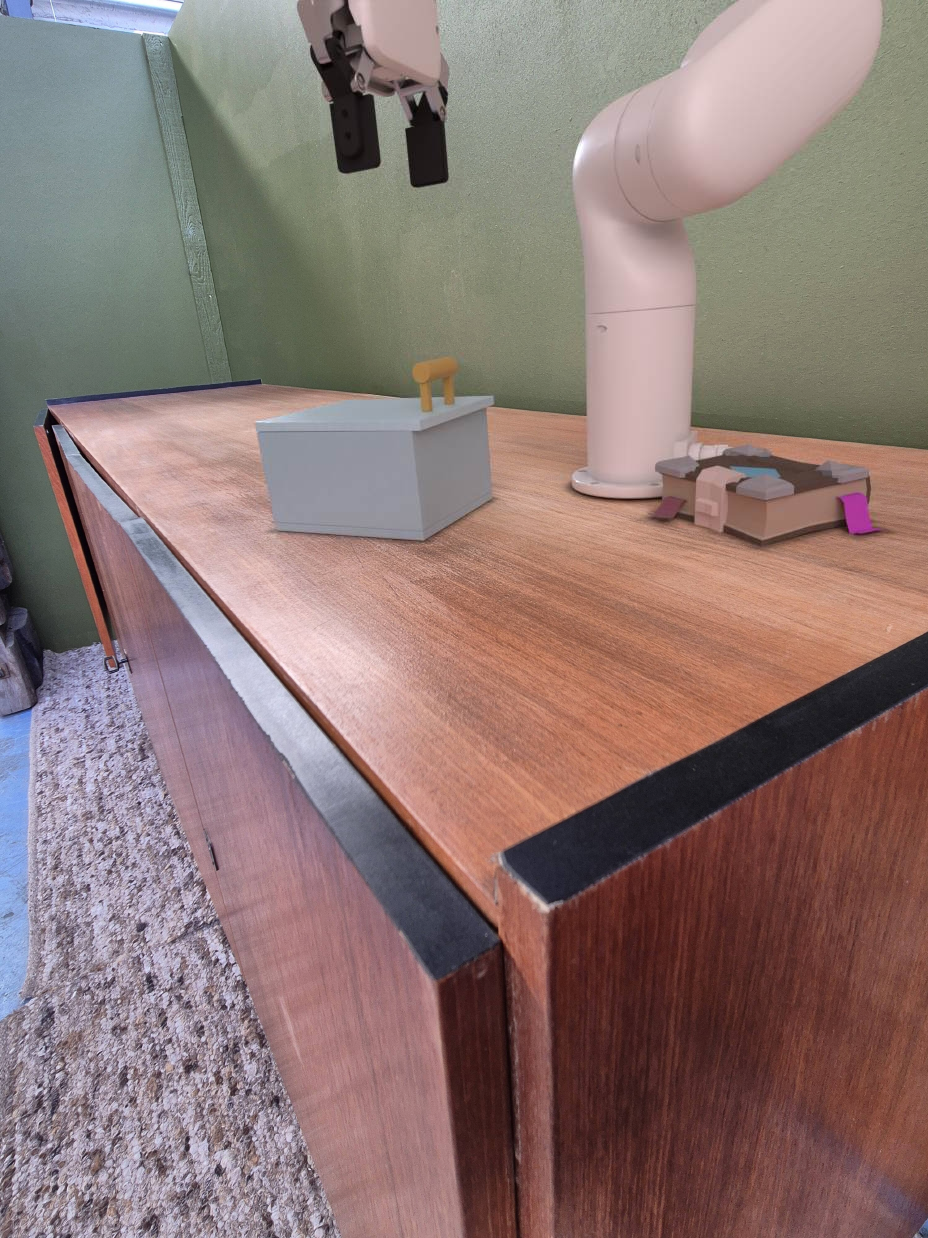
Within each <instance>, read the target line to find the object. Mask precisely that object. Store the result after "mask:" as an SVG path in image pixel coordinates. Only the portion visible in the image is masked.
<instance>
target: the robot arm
mask: <svg viewBox="0 0 928 1238" xmlns="http://www.w3.org/2000/svg"><path fill="white" fill-rule="evenodd" d="M296 11H297V14H298V17H299V20H300V22H301V25H302V28H303V31H304V33H305V36H306V39H307V42H308V44H310V46H309V55H310V59H311V60H312V63H313V65H314V66H315V69H316V70H317V72H318V74H319V76H320V78H321V80H322V81H321V92H322V93H321V94H322V96H323V98H324V99H325V101H326V102H328V103H329V104H328V105H329V112H330V121H331V127H332V137H333V143H334V149H335V150H334V151H335V158H336V166H337V171H338V172H339V173H341V174H343V175H349V174H355V173H359V172H364V171H369V170H373V169H378V168H379V167H380V166H381V162H382V159H381V149H380V140H379V133H378V132H379V131H378V121H377V115H376V106H375V105H376V103H375V96H379V97H383V98H390V97H393V96H394V95H395V94H397V96H398V99H399V101H400V104H401V106H402V109H403V111H404V114H405V116H406V118H407V120H408V123H409V127H406V128H404V132H405V142H406V143H405V144H406V151H407V162H408V163H407V164H408V173H409V182H410V186H411V187H412V188H417V189H421V188H425V187H430V186H435V185H441V184H446V183H447V182H448V181H449V179H450V178H449V177H450V175H449V163H448V149H447V138H446V125H445V123H446V122H447V119H448V115H447V109H446V108H447V105H448V102H449V91H448V84H449V77H450V67H449V63H448V62H447V60H446V59H445V57H444V55H443V54H442V52H441V39H440V37H441V36H440V27H439V17H438V8H437V0H298V1H296ZM883 13H884V12H883V3H882V0H738V1H736V2H735V3H732V4H731V5H730V6H729V7H727V8H726V9H725V10H724V11H722V12H721V13H720V14H719V15H718V16H717V17H715V18H714V19H713V20H712V21H711V22H710V23H709V24H708V25H707V26H705V28H704V29H703V30H702V31H701V32H700V33H699V35H698V36H697V37H696V39H695V40H694V42H693V43H692V44H691V45H690V47H689V49H688V50H687V53H686V54H685V55H684V58H683V59H682V62H681V64H680V66H679V68H678V69H676V70H674V71H672V72H670V73H668V74H666V75H664V76H662V77H660V78H658V79H655V80H652V81H650V82H648V83H646V84H644V85H642V86H640V87H638V88H636V89H634V90H632V91H630V92H629V93H626V94H624V95H623V96H621V97H619V98H618V99H616V100H614V101H613V102H611V103H609V104H608V105H607V106H605V108H603V109H602V110H601V111H600V112H599V113H597V115H596V116H595V117H594V118H593V119H592V120H591V122H590V123H589V124H588V125H587V127H586V129H585V130H584V132H583V133H582V136H581V138H580V139H579V142H578V145H577V147H576V151H575V154H574V158H573V164H572V178H571V179H572V192H573V201H574V207H575V213H576V218H577V223H578V228H579V235H580V240H581V249H582V258H583V259H582V260H583V272H584V273H583V274H584V303H585V304H584V309H585V311H584V312H585V313H584V320H585V321H584V323H585V324H584V325H585V326H584V327H585V328H584V329H585V330H584V332H585V381H586V382H585V386H586V387H585V388H586V389H585V390H586V393H585V394H586V452H587V454H586V455H587V456H586V457H587V465H586V466H583V467H581V468H579V469H578V468H577V470H575V471H574V472H573V473H572V475H571V487H572V488H573V489H574V490H575V491H577V492H579V493H581V494H585V495H588V496H593V497H598V498H606V499H607V498H608V499H623V500H624V499H628V500H629V499H630V500H631V499H633V500H634V499H635V500H637V499H652V498H662V497H663V480H662V474H660V473H659V472H656V471H655V464H656V463H657V462H658V461H664V460H669V459H675V458H683V457H685V456H687V455H689V456H690V457H692V458H693V459H694V460H701V459H706V458H711V457H716V456H720V455H722V452H723V451H724V450H725V449H728V448H733V447H734V446H730V445H729V444H714V445H711V444H710V445H709V444H706V445H704V444H703V442H702V441H701V442H700V441H699V431H698V430H691V425H692V402H693V401H692V399H693V378H694V377H693V375H694V373H693V372H694V352H695V351H694V350H695V327H696V326H695V325H696V305H697V287H698V286H697V268H696V260H695V256H694V252H693V248H692V246H691V245H692V244H691V242H690V239H689V235H688V232H687V229H686V227H685V224H684V223H685V222H684V218H687V217H691V216H696V215H701V214H705V213H709V212H712V211H716V210H719V209H722V208H725V207H727V206H729V205H732V204H734V203H735V202H738V201H739V200H741V199H742V198H744V197H745V196H746V195H748V194H750V193H751V192H753V191H754V190H756V188H758V187H759V186H760V185H761V184H763V183H764V182H765V181H766V180H767V179H768V178H770V176H772V175H773V174H774V173H775V172H776V171H777V170H779V169H780V168H781V167H782V166H783V165H784V164H785V163H787V162H788V160H790V159H791V158H792V157H793V156H794V155H795V154H796V153H797V152H799V151H800V150H801V149H802V148H803V147H804V146H805V145H806V144H808V142H810V140H813V138H814V137H815V136H816V135H818V134H819V132H821V131H823V129H824V128H825V127H827V125H829V123H830V122H832V121H833V120H834V119H835V118H836V117H837V116H838V115H839V114H840V113H841V112H842V111H843V110H844V109H845V108H846V107H847V106H848V105H849V104H850V103H851V102H852V100H853V99H854V98H855V96H856V95H857V93H858V92H859V91H860V89H861V88H862V86H863V85H864V84H865V81H866V79H867V77H868V75H869V73H870V71H871V69H872V67H873V64H874V62H875V59H876V56H877V54H878V51H879V50H878V49H879V47H880V46H879V45H880V42H881V38H882V29H883V22H884V21H883ZM366 92H367V93H366ZM365 93H366V94H365ZM420 93H421V97H420V99H419V101H418V103H417V101H416V99H415V96H414V95H417V94H420ZM374 95H375V96H374ZM698 441H699V442H698Z"/></svg>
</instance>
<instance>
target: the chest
mask: <svg viewBox="0 0 928 1238" xmlns="http://www.w3.org/2000/svg"><path fill="white" fill-rule="evenodd" d="M487 412H488V411H487V407H486V408H483V409H480V410H477V411H475V412H472V413H469V414H466V415H463V416H461V417H458V418H455V419H452V420H449V421H447V422H444V423H441V424H438V425H435V426H433V427H430V428H427V429H424V430H421V431H300V432H257V431H256V436H257V437H256V438H257V441H258V447H259V451H260V456H261V457H260V458H261V462H262V467H263V471H264V478H265V482H266V488H267V492H268V493H267V494H268V497H269V504H270V507H271V514H272V518H273V522H274V528H275V531H279V532H293V533H306V534H307V533H308V534H321V535H337V536H350V537H365V538H379V539H392V540H406V541H420V542H421V541H422V542H424V541H426V540H428V539H429V538H430V537H433V536H434V535H435V534H437V533H439V532H441V531H442V530H444V529H445V528H448V526H450V525H452V524H454V523H456V522H457V521H458V520H460V519H462V518H463V517H465V516H466V515H468V514H470V513H472V512H473V511H474V510H476V509H478V508H480V507H481V506H483V505H485V504H486V503H488V502H489V501H491V500H492V499H493V484H492V472H491V470H492V469H491V457H490V442H489V425H488V413H487Z"/></svg>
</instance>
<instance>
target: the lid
mask: <svg viewBox="0 0 928 1238" xmlns="http://www.w3.org/2000/svg"><path fill="white" fill-rule="evenodd" d="M457 363H458V362H457V361H456V360H455V358H453V357H451V356H445V357H441V358H435V359H430V360H426V361H421V362H417V363H415V364H414V366H413V367H412V369H411V373H412V378H413V379H414V381H415V382H416V383H417V384H418V386H419V395H420V397H399V398H364V399H360V398H359V399H344V400H339V401H336V402H332V403H328V404H323V405H319V406H315V407H310V408H308V409H304V410H299V411H295V412H290V413H287V414H282V415H280V416H274V417H271V418H266V419H263V420H259V421H255V422H254V426H255V427H254V428H255V431H256V433H257V432H300V431H421V430H424V429H427V428H430V427H433V426H435V425H438V424H441V423H444V422H447V421H449V420H452V419H455V418H458V417H461V416H463V415H466V414H469V413H472V412H475V411H477V410H480V409H483V408H486V409H487V408H488V407H492V406H494V405H495V399H494V398H495V397H494V395H472V396H470V395H469V396H455V386H454V376H455V375H456V374H457V373H458V372H457V371H458V364H457ZM439 380H442V390H443V396H434V397H433V396H432V387H431V383H432V382H435V381H439Z"/></svg>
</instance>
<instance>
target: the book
mask: <svg viewBox="0 0 928 1238" xmlns="http://www.w3.org/2000/svg"><path fill="white" fill-rule="evenodd" d="M732 447H733V448H728V449H725V450H724V451H723V452H722V455H720V456H716V457H711V458H706V459H701V460H694V459H693V458H692V457H690V456H689V455H687V456H685V457H683V458H675V459H669V460H664V461H658V462H657V463H656V464H655V471H656V472H659V473H660V474H662V480H663V497H661V503H660V505H659V507H658V508H657V510H656V511H655V512H654V513H651V512H648V513H647V515H649V516H654V517H658V518H661V519H666V518H667V519H673V518H678V519H681V520H685V521H689V522H693V524H694V525H697V526H701V527H704V528H708V529H711V530H713V531H715V532H718V533H724V532H725V533H727V534H729V535H732V536H734V537H737V538H739V539H741V540H743V541H746V542H748V543H750V544H753V545H754V546H755V545H756V546H758V547H761V548H763V547H766V546H771V545H773V544H777V543H780V542H783V541H786V540H789V539H792V538H795V537H799V536H802V535H805V534H807V533H811V532H812V533H813V532H817V531H822V530H828V529H834V528H839V527H844V526H847V529H848V533H849V534H851V535H856V534H867V533H871V532H876V531H881V530H884V528H882V527H876V528H873V525H872V521H871V519H870V513H869V503H870V500H871V499H870V498H871V492H872V484H871V477H870V473H869V472H870V469H869V468H868V467H867V466H865V465H854V464H845V463H839V462H836V461H834V460H831V459H828V460H826V461H825V462H823V463H822V464H817V463H810V462H809V463H808V462H801V461H797V460H793V459H788V458H784V457H780V456H777V455H772V454H773V452H771V450H770V449H766V448H762V447H757V446H754V445H752V444H750V443H747V444H743V445H739V446H738V445H737V446H732Z"/></svg>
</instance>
